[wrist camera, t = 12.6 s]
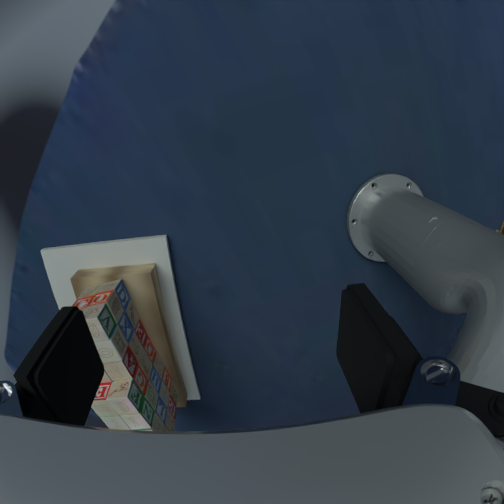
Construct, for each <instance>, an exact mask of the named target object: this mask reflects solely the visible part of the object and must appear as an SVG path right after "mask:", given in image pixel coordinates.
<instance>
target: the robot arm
mask: <svg viewBox="0 0 504 504" xmlns="http://www.w3.org/2000/svg"><path fill="white" fill-rule="evenodd" d="M372 184H373V186H372ZM353 219H354V221H353V222H352V220H353ZM347 230H348V234H349V237H350V240H351V242H352V243H353V245H354V246H355V248H356V249H357V250H358V251H359V252H360V253H361V254H362V255H363V256H365V257H366V258H368V259H371V260H374V261H379V262H387V263H388V264H389V265H390V266H391V267H392V268H393V269H394V270H395V271H396V272H397V273H398V274H399V275H400V276H401V277H402V278H403V279H404V280H405V281H406V282H407V283H408V284H409V285H410V286H411V287H412V288H413V289H414V290H415V291H416V292H417V293H418V294H419V295H420V296H421V297H422V298H423V299H424V300H425V301H426V302H427V303H428V304H429V305H430V306H432V307H433V308H435V309H436V310H438V311H440V312H444V313H447V314H464V313H468V314H467V317H466V319H465V322H464V324H463V326H462V328H461V330H460V332H459V335H458V337H457V339H456V341H455V343H454V345H453V346H452V348H451V350H450V352H449V353H448V355H447V357H446V358H443V357H436V356H434V357H427V358H425V359H423V358H422V357H421V355H420V354H419V352H418V351H417V350H416V348H415V347H414V346H413V344H412V343H411V342H410V340H409V339H408V337H407V336H406V335H405V333H404V332H403V331H402V329H401V328H400V327H399V325H398V324H397V323H396V321H395V320H394V319H393V318H392V317H391V316H389V315H388V313H387V312H386V311H385V310H384V308H383V307H382V306H381V304H380V303H379V302H378V300H377V299H376V298H375V297H374V295H373V294H372V293H371V291H370V290H369V289H368V288H367V286H366V285H365V284H364V283H360V284H352V285H348V286H347V288H346V289H345V290H342V296H341V308H340V320H339V330H338V340H337V350H336V352H337V358H338V361H339V363H340V366H341V368H342V370H343V373H344V375H345V377H346V380H347V382H348V384H349V387H350V389H351V391H352V394H353V396H354V399H355V401H356V403H357V406H358V408H359V411H360V413H359V414H354V415H348V416H343V417H337V418H332V419H326V420H319V421H312V422H306V423H299V424H292V425H284V426H275V427H266V428H255V429H242V430H226V431H200V432H162V431H137V430H121V429H108V428H98V427H88V426H84V425H85V422H86V419H87V417H88V414H89V411H90V409H91V406H92V403H93V401H94V398H95V396H96V393H97V391H98V388H99V386H100V383H101V381H102V378H103V376H104V365H103V362H102V360H101V358H100V355H99V353H98V350H97V348H96V345H95V343H94V340H93V338H92V335H91V332H90V330H89V327H88V324H87V322H86V319H85V316H84V313H83V311H82V310H79V308H78V307H76V306H65V307H62V308H61V309H60V310H59V312H58V313H57V314H56V316H55V317H54V318H53V320H52V321H51V322H50V324H49V325H48V326H47V328H46V329H45V330H44V332H43V333H42V335H41V336H40V337H39V339H38V340H37V341H36V343H35V344H34V346H33V347H32V349H31V350H30V351H29V353H28V354H27V356H26V357H25V359H24V360H23V362H22V363H21V365H20V366H19V368H18V369H17V371H16V372H15V374H14V377H15V379H16V381H17V383H16V384H15V385H14V383H12V382H10V381H7V380H6V381H0V504H504V235H502V234H500V233H498V232H496V231H494V230H492V229H490V228H487V227H485V226H483V225H481V224H479V223H477V222H475V221H473V220H471V219H469V218H467V217H465V216H463V215H461V214H459V213H457V212H455V211H453V210H450V209H448V208H446V207H444V206H442V205H440V204H438V203H436V202H433V201H431V200H429V199H427V198H425V197H424V196H423V194H422V192H421V190H420V189H419V187H418V186H417V185H416V184H415V183H414V182H413V181H411V180H410V179H408V178H407V177H404V176H402V175H398V174H394V173H386V174H381V175H377V176H375V177H373V178H371V179H369V180H368V181H367V182H365V183H364V184H363V185H362V186H361V187H360V188H359V189H358V190H357V192H356V194H355V195H354V197H353V198H352V201H351V203H350V205H349V209H348V213H347Z"/></svg>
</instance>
